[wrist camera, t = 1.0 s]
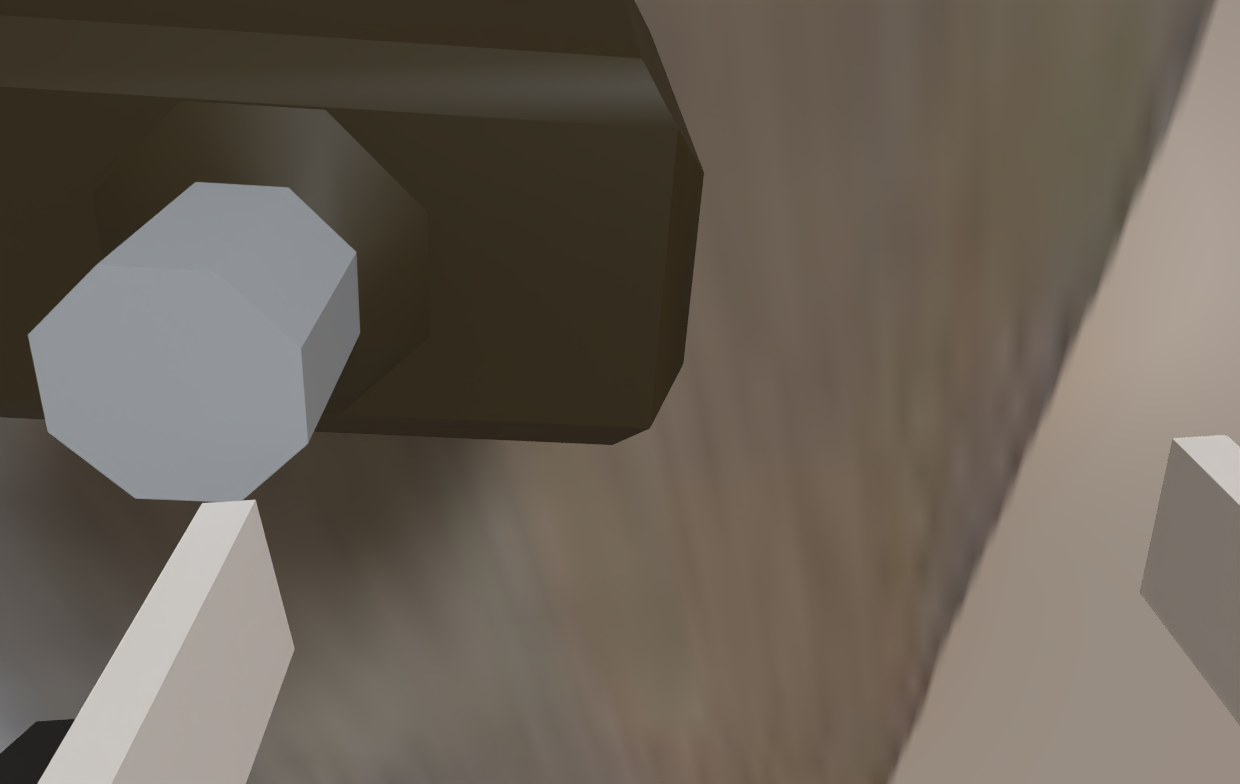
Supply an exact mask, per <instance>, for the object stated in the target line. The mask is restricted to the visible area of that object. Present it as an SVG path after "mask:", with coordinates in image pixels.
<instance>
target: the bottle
mask: <svg viewBox="0 0 1240 784" xmlns="http://www.w3.org/2000/svg"><path fill="white" fill-rule="evenodd" d="M703 176H704V172H703V169H702V167H701V164H700V161H699V159H698V156H697V154H696V151H695V148H694V146H693V143H692V141H691V138H690V135H689V133H688V130H687V127H686V125H685V122H684V120H683V117H682V114H681V112H680V109H679V107H678V104H677V101H676V99H675V96H674V93H673V91H672V88H671V86H670V83H669V80H668V78H667V75H666V73H665V70H664V67H663V65H662V62H661V59H660V57H659V54H658V52H657V49H656V46H655V44H654V41H653V39H652V36H651V33H650V31H649V29H648V27H647V25H646V23H645V21H644V19H643V17H642V15H641V13H640V11H639V9H638V7H637V5H636V3H635V1H634V0H0V417H8V418H30V419H45V421H46V426H47V431H48V433H50V434H51V435H52V436H54V437H55V438H56V439H58V440H59V441H60V442H62V443H63V444H64V445H66V446H67V447H68V448H69V449H71V450H72V451H73V452H75V453H76V454H77V455H79V456H80V457H81V458H83V459H84V460H85V461H87V462H88V463H89V464H91V465H92V466H93V467H94V468H96V469H97V470H98V471H100V472H101V473H102V474H104V475H105V476H106V477H108V478H109V479H110V480H112V481H113V482H114V483H116V484H117V485H118V486H119V487H121V488H122V489H123V490H125V491H126V492H127V493H129V494H130V495H131V496H133V497H134V498H136V499H160V500H184V501H209V502H228V501H242V500H243V499H245V498H246V497H247V496H248V495H249V494H250V493H252V492H253V491H254V490H255V489H256V488H257V487H258V486H260V485H261V484H262V483H263V482H264V481H265V480H267V479H268V478H269V477H270V476H271V475H272V474H274V473H275V472H276V471H277V470H278V469H279V468H280V467H282V466H283V465H284V464H285V463H286V462H287V461H289V460H290V459H291V458H292V457H293V456H294V455H295V454H297V453H298V452H299V451H300V450H301V449H302V448H304V447H305V446H306V445H307V444H308V443H309V441H310V439H311V436H312V434H313V432H314V431H317V432H339V433H361V434H383V435H406V436H428V437H450V438H472V439H494V440H516V441H538V442H560V443H582V444H604V445H613V444H615V443H618V442H620V441H622V440H624V439H627V438H629V437H631V436H633V435H636V434H638V433H640V432H643V431H645V430H647V429H649V428H650V427H651V425H652V423H653V421H654V419H655V417H656V415H657V414H658V412H659V410H660V408H661V406H662V404H663V402H664V400H665V398H666V396H667V394H668V392H669V390H670V388H671V386H672V384H673V383H674V381H675V379H676V377H677V375H678V373H679V371H680V369H681V367H682V365H683V361H684V352H685V343H686V333H687V324H688V315H689V306H690V296H691V287H692V278H693V268H694V259H695V250H696V241H697V231H698V222H699V213H700V204H701V194H702V185H703Z"/></svg>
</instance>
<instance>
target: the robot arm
mask: <svg viewBox="0 0 1240 784" xmlns="http://www.w3.org/2000/svg"><path fill="white" fill-rule="evenodd" d="M1140 593H1141V595H1142V596H1143V597H1144V599H1145V600H1146V601H1147V602H1148V604H1149V605H1150V607H1151V608H1152V609H1153V611H1154V612H1155V613H1156V615H1157V616H1158V617H1159V619H1160V620H1161V621H1162V623H1163V624H1164V625H1165V627H1166V628H1167V629H1168V631H1169V632H1170V633H1171V635H1172V636H1173V637H1174V639H1175V640H1176V641H1177V643H1178V644H1179V645H1180V647H1181V648H1182V649H1183V650H1184V652H1185V653H1186V655H1187V656H1188V657H1189V659H1190V660H1191V661H1192V662H1193V664H1194V665H1195V667H1196V668H1197V669H1198V671H1199V672H1200V673H1201V674H1202V676H1203V677H1204V678H1205V680H1206V681H1207V682H1208V684H1209V685H1210V686H1211V688H1212V689H1213V690H1214V691H1215V693H1216V694H1217V696H1218V697H1219V698H1220V700H1221V701H1222V702H1223V704H1224V705H1225V706H1226V708H1227V709H1228V710H1229V712H1230V713H1231V714H1232V716H1233V717H1234V718H1235V720H1236V721H1237V722H1238V724H1239V725H1240V447H1239V446H1238V445H1237V444H1235V443H1234V442H1233V441H1232V440H1231V439H1230V438H1229V437H1228V436H1227V435H1219V436H1203V437H1188V438H1173V440H1172V444H1171V449H1170V453H1169V459H1168V463H1167V467H1166V472H1165V477H1164V481H1163V486H1162V491H1161V495H1160V500H1159V505H1158V510H1157V514H1156V519H1155V524H1154V528H1153V533H1152V538H1151V542H1150V547H1149V552H1148V557H1147V561H1146V566H1145V571H1144V575H1143V580H1142V585H1141V589H1140ZM293 652H294V645H293V641H292V637H291V633H290V630H289V626H288V622H287V618H286V614H285V610H284V607H283V603H282V599H281V595H280V591H279V587H278V584H277V580H276V576H275V572H274V568H273V565H272V561H271V557H270V553H269V549H268V545H267V542H266V538H265V534H264V530H263V526H262V522H261V519H260V515H259V511H258V507H257V503H256V500H243V501H228V502H213V503H202V504H201V506H200V508H199V509H198V511H197V513H196V514H195V516H194V518H193V520H192V521H191V523H190V525H189V526H188V528H187V530H186V531H185V533H184V535H183V537H182V538H181V540H180V542H179V543H178V545H177V547H176V548H175V550H174V552H173V554H172V555H171V557H170V559H169V560H168V562H167V564H166V566H165V567H164V569H163V571H162V572H161V574H160V576H159V577H158V579H157V581H156V583H155V584H154V586H153V588H152V589H151V591H150V593H149V594H148V596H147V598H146V600H145V601H144V603H143V605H142V606H141V608H140V610H139V611H138V613H137V615H136V617H135V618H134V620H133V622H132V623H131V625H130V627H129V629H128V630H127V632H126V634H125V635H124V637H123V639H122V640H121V642H120V644H119V646H118V647H117V649H116V651H115V652H114V654H113V656H112V657H111V659H110V661H109V663H108V664H107V666H106V668H105V669H104V671H103V673H102V675H101V676H100V678H99V680H98V681H97V683H96V685H95V686H94V688H93V690H92V692H91V693H90V695H89V697H88V698H87V700H86V702H85V703H84V705H83V707H82V709H81V710H80V712H79V714H78V715H77V717H76V719H68V720H53V721H38V722H36V723H34V724H33V725H32V726H31V727H30V728H29V729H28V730H27V731H25V732H24V733H23V734H22V735H21V736H20V737H19V738H17V739H16V740H15V741H14V742H13V743H12V744H11V745H10V746H8V747H7V748H6V749H5V750H4V751H3V752H2V753H1V754H0V784H246V781H247V779H248V776H249V773H250V770H251V768H252V765H253V762H254V759H255V757H256V754H257V751H258V748H259V746H260V743H261V740H262V737H263V735H264V732H265V729H266V726H267V724H268V721H269V718H270V715H271V713H272V710H273V707H274V704H275V702H276V699H277V696H278V693H279V691H280V688H281V685H282V682H283V680H284V677H285V674H286V671H287V669H288V666H289V663H290V660H291V658H292V655H293Z"/></svg>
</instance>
